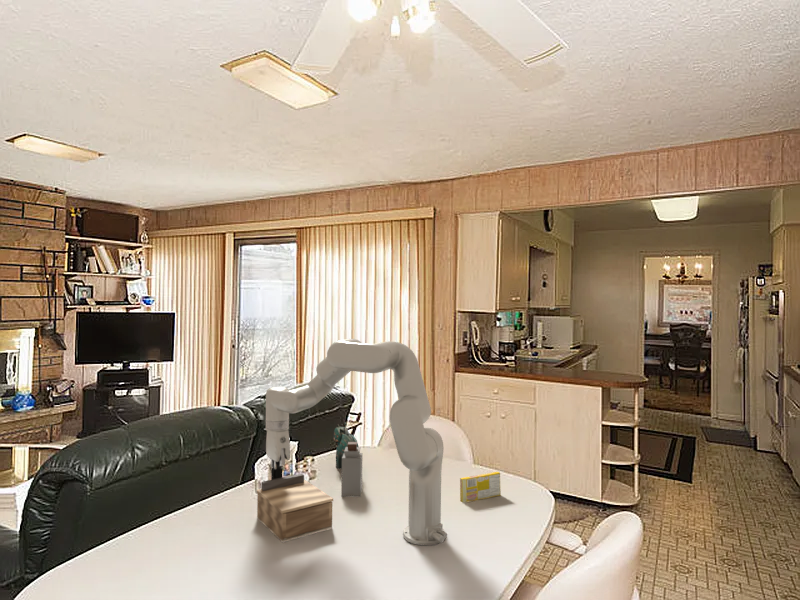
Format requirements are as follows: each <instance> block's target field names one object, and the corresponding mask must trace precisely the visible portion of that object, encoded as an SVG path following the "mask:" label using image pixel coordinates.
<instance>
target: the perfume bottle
mask: <svg viewBox="0 0 800 600" xmlns="http://www.w3.org/2000/svg"><path fill="white" fill-rule="evenodd" d="M357 443H358V441H357V442H348V444H347V445H348V447H346V448H345V450H344V454H343V457H342V469H341V491H340V492H341V493H340V494H341V495H340V496H341V497H361V496H362V495H361V494H362V491H363V452H361V447H360V446H359V447H357ZM359 452H360V453H359Z"/></svg>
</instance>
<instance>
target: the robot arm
mask: <svg viewBox="0 0 800 600" xmlns="http://www.w3.org/2000/svg"><path fill="white" fill-rule="evenodd" d="M315 368H316V376H314V377H313V378H312V379H311V380H310V381H309V382H307V384H305V385H304V386H301V387H300V386H299V387H297V388H296V387H295V388H293V389H288V388H287V387H286V386H285V387H284V386H272V387H269V388H267V390H266V392H265V431H266V441H265V452H266V454H265V455H266V456H267V457H268V458H269V460H270V467H271V468H270V469H271V473H270V474H271V478H270V480H273V479H278V478H283V468H284V466H286V460H287V461H290V460H291V442H290V433H289V432H290V431H289V430H290V414H296V413H300V412H302V411H305V410H308V409H310V408H313V407H314V406H315V405H317V404H318V403H320V401H322V400H323V399H324V398H325V397H327V396H328V395H329V394H330V393H331V391H332V390H333V389H334V388H335V386H336V385H337V384H338V383H339V382H340V381H341V380H342V379H344V377H346V376H348V374H349V373H351V372H359V373H367V374H378V373H382V372H385V371H388V370H392V371H393V377H394V378H393V380H394V381H393V382H394V386H395V390H396V393H397V398H398V399H397V400H395V402H394V403H393V404H392V405H391V408H390V410H389V424H390V428H391V431H392V435H393V440H394V443H395V444H394V445H395V447H396V451H397V454H398V458H399V460H400V462H401V464H402V465H403V466H404V467H405V468H406V469H407V470H408V471H409V472H408V473H409V474H408V526H406V527H405V528H404V529H403V531H402V532H403V533H402V535H403V538H404V539H405V540H406V541H407V542H409V543H411V544H413V545H417V546H418V545H419V546H433V545H438V544H440V543H441V544H442V543H443V542H444V540H445V539H446V538H447V537H448V533H447V532H446V530H445V529H444V528H443V523H442V522H441V521H442V518H441V516H442V508H441V507H442V470H443V469H442V468H443V459H444V440H443V438H442V436H441V434H440V433H439V431H437V430H435V429H433V428H430V427H425V426H424V424H425V423H427V421H428V420H429V419H430V417H431V413H432V409H431V408H432V407H431V404H430V401H429V398H428V393H427V390H426V386H425V383H424V379H423V377H422V372H421V369H420V365H419V360H418V358H417V356H416V354H415V352H414V351H413V350H412V349H411V348H410V347H409V346H408V345H406V344H403V343H401V342H398V341H392V340H391V341H382V342H376V343H363V342H362V341H360V340H358V339H355V338H349V339H348V338H347V339H341V340H336V341H334V342H333V343H332V344H330V346H329V347H328V349H327V351H326V357H325V358H323V359H322V360H321V361H320V362H319V363H318V364H317V365H316V367H315Z"/></svg>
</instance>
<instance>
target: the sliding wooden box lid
mask: <svg viewBox="0 0 800 600" xmlns="http://www.w3.org/2000/svg"><path fill="white" fill-rule="evenodd" d="M260 487H261V488H260V489H256V493H257V495H258V494H259V495H260V496H262V497H263V498H264V499H265V500H266V501H267V502H269V503H270V504H271V505H272V506H273V507H275V508H276V509H277V510H278V511H279V512H281V513H282V514H283V513H287V512H291V511H295V510H299V509H303V508H307V507H311V506H315V505H319V504H323V503H327V502H332V503H333V502H334V498H333V497H332V496H330V495H328V493H326V492H324V491H322V490H321V489H320V488H318V487H317V486H316V485H314V484H312V483H310V482H309V481H308V480H305V474H303V473H298V474H294V475H288V476H284V477H283V476H282V478H278V479H273V480H271V479H269V480H264V481H261V486H260Z"/></svg>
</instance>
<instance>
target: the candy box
mask: <svg viewBox="0 0 800 600" xmlns="http://www.w3.org/2000/svg"><path fill="white" fill-rule="evenodd" d="M459 486H460V487H459V490H460V492H459V493H460V495H459V501H460V502H461V503H463V504H464V503H469V502H475V501H479V500H485V499H489V498H494V497H500V496H502V495H501V491H502V490H501V472H500V471H493V472H487V473H482V474H477V475H472V476H465V477H460V478H459Z"/></svg>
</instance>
